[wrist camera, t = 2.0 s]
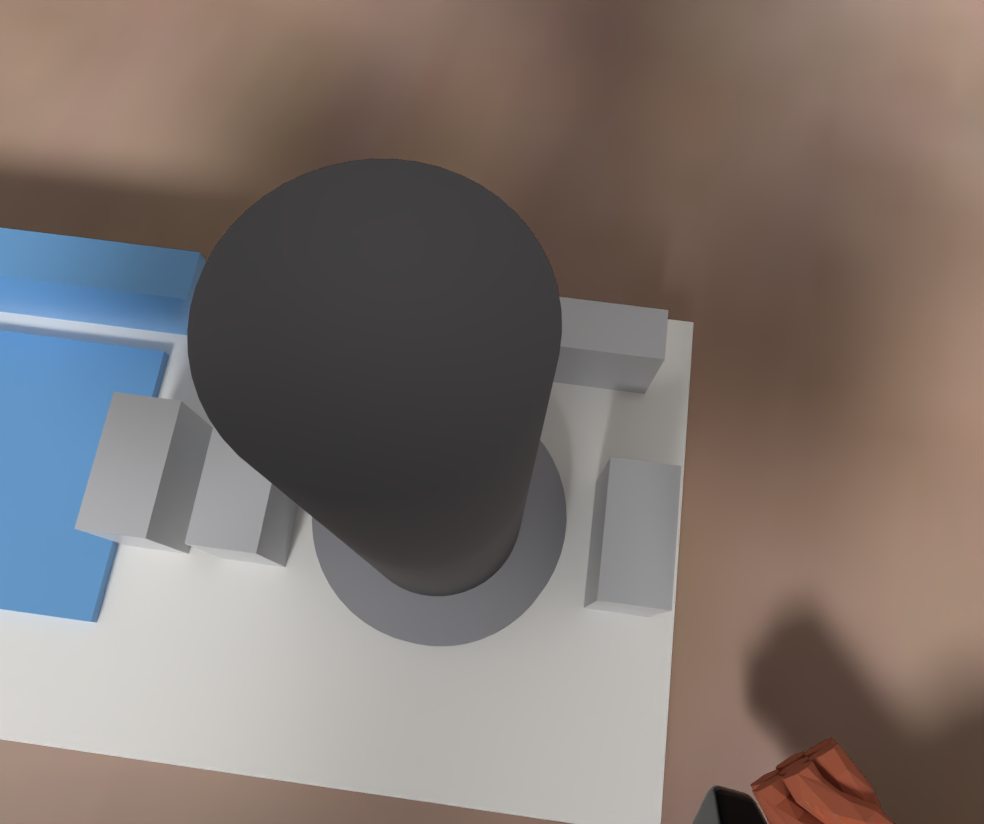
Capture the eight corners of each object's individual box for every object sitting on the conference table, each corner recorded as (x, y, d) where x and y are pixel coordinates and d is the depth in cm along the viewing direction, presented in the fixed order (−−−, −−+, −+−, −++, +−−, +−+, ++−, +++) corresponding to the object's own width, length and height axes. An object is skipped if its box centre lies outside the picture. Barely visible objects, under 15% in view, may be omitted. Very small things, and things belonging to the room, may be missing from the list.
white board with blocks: (683, 340, 22) (719, 278, 18) (649, 825, 18) (687, 864, 15) (-101, 242, 23) (-209, 164, 19) (-276, 689, 19) (-448, 695, 16)
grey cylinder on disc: (451, 699, 18) (385, 764, 7) (276, 534, 19) (-42, 343, 8) (608, 513, 19) (781, 295, 8) (436, 367, 20) (367, -10, 9)
